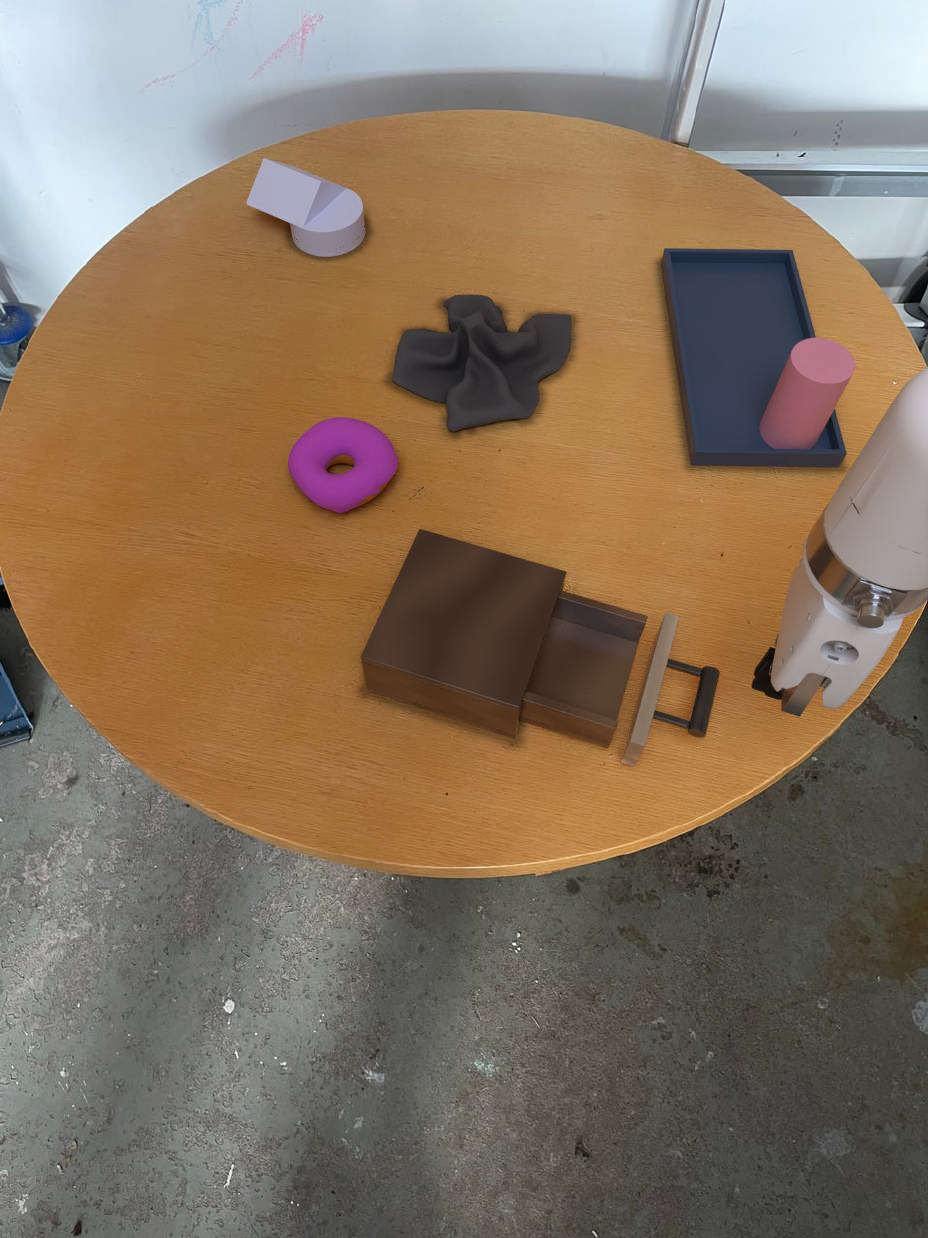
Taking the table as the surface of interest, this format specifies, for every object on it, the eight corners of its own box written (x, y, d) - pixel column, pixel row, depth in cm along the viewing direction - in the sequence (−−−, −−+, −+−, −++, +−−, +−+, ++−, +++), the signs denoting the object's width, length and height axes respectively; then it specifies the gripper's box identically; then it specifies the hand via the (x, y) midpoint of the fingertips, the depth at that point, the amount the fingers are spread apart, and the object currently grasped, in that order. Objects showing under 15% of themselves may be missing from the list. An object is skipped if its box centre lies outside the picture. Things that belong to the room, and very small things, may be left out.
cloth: (486, 457, 89) (488, 415, 84) (356, 371, 95) (350, 327, 90) (612, 340, 98) (621, 295, 92) (485, 268, 104) (487, 222, 98)
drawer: (717, 657, 77) (732, 631, 73) (688, 784, 71) (702, 764, 67) (534, 602, 80) (538, 574, 75) (491, 720, 74) (493, 697, 70)
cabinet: (559, 609, 80) (566, 571, 75) (514, 739, 74) (519, 708, 68) (422, 568, 82) (419, 527, 77) (367, 691, 76) (360, 656, 70)
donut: (277, 467, 88) (268, 437, 84) (361, 423, 91) (357, 392, 87) (329, 535, 84) (323, 506, 80) (416, 487, 87) (414, 457, 83)
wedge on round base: (251, 228, 107) (336, 266, 104) (239, 177, 101) (329, 215, 98) (296, 190, 111) (379, 225, 107) (287, 138, 105) (375, 174, 102)
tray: (839, 467, 89) (847, 453, 87) (690, 465, 89) (695, 451, 87) (786, 264, 104) (792, 249, 102) (660, 262, 104) (664, 247, 102)
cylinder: (821, 418, 91) (859, 346, 83) (813, 460, 88) (851, 389, 80) (764, 404, 92) (796, 331, 84) (754, 445, 89) (786, 373, 81)
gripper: (933, 683, 46) (807, 791, 62) (952, 473, 53) (834, 619, 69) (791, 640, 47) (704, 758, 63) (829, 440, 54) (741, 592, 70)
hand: (772, 685), depth 66 cm, fingers closed
